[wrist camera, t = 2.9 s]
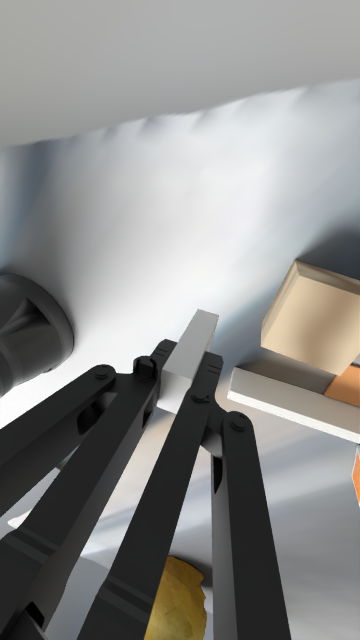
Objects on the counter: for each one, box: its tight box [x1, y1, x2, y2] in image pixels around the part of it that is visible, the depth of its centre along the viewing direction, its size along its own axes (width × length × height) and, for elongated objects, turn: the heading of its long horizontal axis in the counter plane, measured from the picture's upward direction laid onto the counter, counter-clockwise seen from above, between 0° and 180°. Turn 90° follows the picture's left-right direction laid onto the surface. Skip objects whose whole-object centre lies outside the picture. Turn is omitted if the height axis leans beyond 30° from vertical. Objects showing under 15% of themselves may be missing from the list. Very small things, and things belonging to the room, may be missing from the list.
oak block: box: [261, 259, 360, 376], centre depth 22 cm, size 7×7×4 cm
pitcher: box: [144, 556, 207, 640], centre depth 57 cm, size 17×19×25 cm
